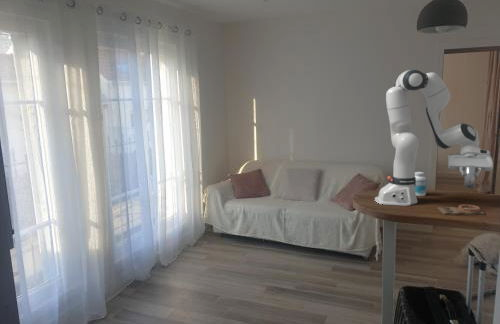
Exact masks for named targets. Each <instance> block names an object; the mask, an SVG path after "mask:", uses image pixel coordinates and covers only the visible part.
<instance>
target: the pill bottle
mask: <svg viewBox="0 0 500 324" xmlns="http://www.w3.org/2000/svg"><path fill="white" fill-rule="evenodd" d="M424 175H425V173H424V172H423V171H415V177H416V185H415V193H416V197H425V196H426V194H427V177H426V176H424Z"/></svg>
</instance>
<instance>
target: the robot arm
mask: <svg viewBox="0 0 500 324" xmlns="http://www.w3.org/2000/svg"><path fill="white" fill-rule="evenodd" d="M418 90H419V91H421V92H422V93H423V95H424V97H425V99H426V102H427V106H426V107H425V113H426V116H427V119H428V123H429V125H430V127H431V131H432V132H433V136H434V140H435V141H434V142H435V143H436V145H437V146H438V147H439V148H441V149H444V150H446V149H447V150H448V149H449V148H452V147H453V146H456V145H460V149H459V151H460V152H459V153H449V154H448V155H447V160H448V162H447V168H448V169H449V170H459V173H460V174H461V177H465V166H466V165H471V166H476V169H475V178H479V175H480V173H481V171H483V172H487V171H488V172H491V171H492V170H493V169H494V161H493V157H492V156H491V155H490V153H491V152H490V150H486V149H483V148H480V147H479V145H480V137H479V133H478V130H477V129H476V128H475V127H472V126H471V125H469V124H467V123H460V124H457V125H455V126H452V127H449V128H447V129H443V127H442V124H441V121H440V118H439V113H440V112H441V111H442V110H443V109H444V108H445V107H446V106H447V105H448V103H449V102H450V99H451V93H450V91H449V89H448V87H447V85H446V84H445V82H444V81H443V80H442V78H441V77H440V76H439V75H438V74H437V73H436V72H434V71H433V72H432V71H431V72H427V73H425V72H422V71H421V70H419V69H407V70H405V71H402V72H400V73H399V74H398V76H397V77H396V79H395V82H394V83H393V87H390V88H389V89H388V90H387V91H386V93H385V103H386V110H387V114H388V121H389V128H390V139H391V144H392V146H393V148H394V149H395V154H394V160H393V168H392V169H393V173H392V174H393V175H392V176H390V175H388V176H387V180H389V182H388V183H387V184H385V185H384V186H382V188H380V190H379V191H378V196H375V197H374V199H375V200H374V202H375V201H376V202H377V203H376V202H375V203H376V204H378V203H379V204H378V205H382V204H383V205H385V206H403V207H406V206H412V205H414V204H415V205H416V204H417V203H418V199H417V196H416V193H415V185H416V177H415V172H416V160H417V155H418V151H419V146H420V141H419V139H418V136H416V135H415V133H412V115H411V108H410V104H409V99H408V98H409V97H408V96H409V94H410V92H414V91H418ZM383 205H382V206H383Z"/></svg>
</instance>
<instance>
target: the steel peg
mask: <svg viewBox="0 0 500 324" xmlns="http://www.w3.org/2000/svg"><path fill="white" fill-rule="evenodd" d="M475 169H476V166H471V165H466V166H465V170H464V172H465V176H464V184H463V187H464V188H466V189H473V188H475V183H476V182H475V180H476V177H475V172H476V170H475Z"/></svg>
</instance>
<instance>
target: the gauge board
mask: <svg viewBox="0 0 500 324" xmlns="http://www.w3.org/2000/svg"><path fill="white" fill-rule="evenodd" d="M437 210H438V211H439V212H440V213H442V214H443V215H444V216H485V212H484V211H482V210H481V208H480V207H479V206H478V205H475V204H459V205H458V206H437Z"/></svg>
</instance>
